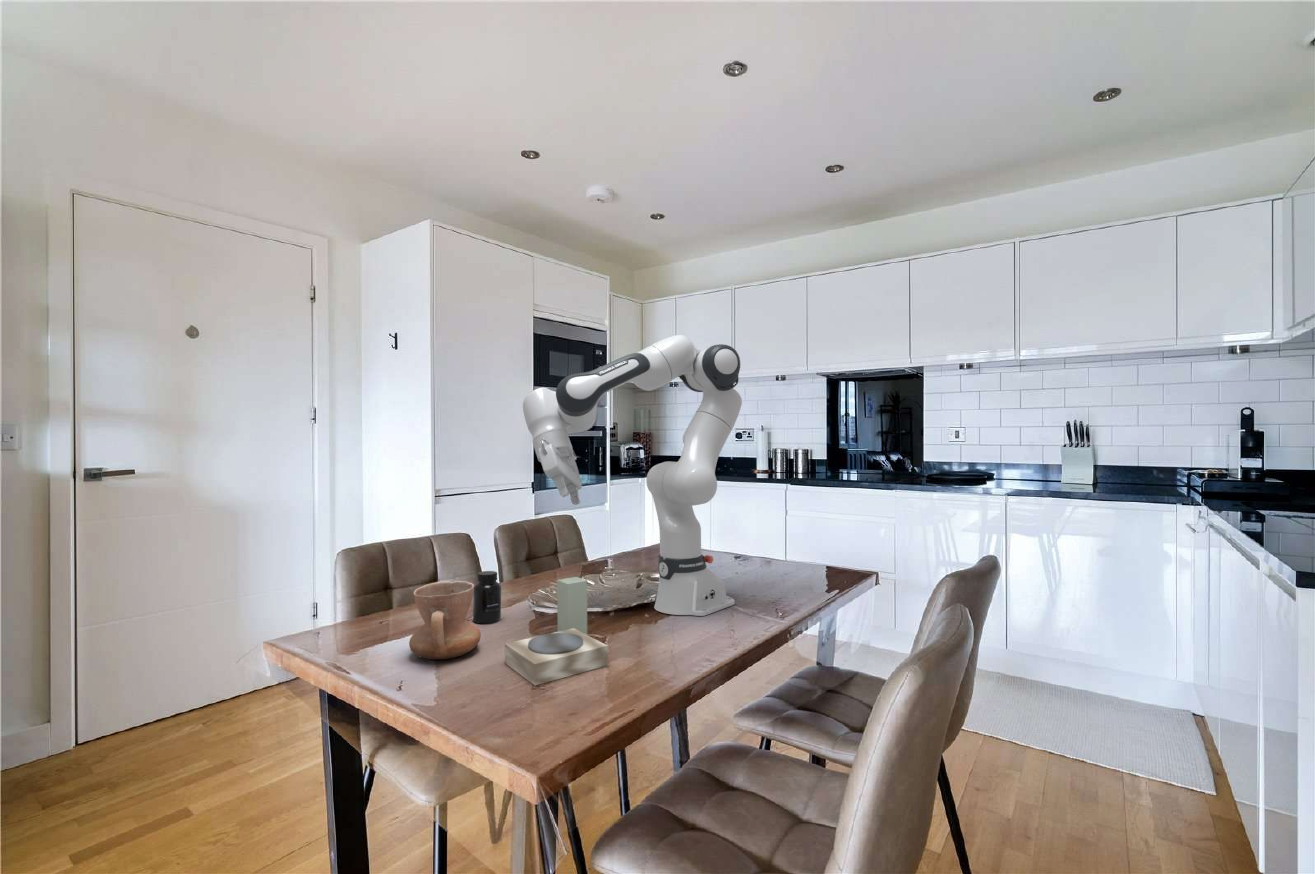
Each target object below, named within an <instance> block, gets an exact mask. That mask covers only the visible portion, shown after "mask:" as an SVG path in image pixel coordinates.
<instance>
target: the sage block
mask: <svg viewBox="0 0 1315 874" xmlns="http://www.w3.org/2000/svg"><path fill="white" fill-rule="evenodd" d="M556 583H557V584H556V585H557V586H556V587H557V588H556V590H557V593H556V595H557V597H556V598H557V599H556V601H557V603H556V604H557V605H556V606H557V607H556V608H557V609H556V610H557V632H559V631H563V630H567V629H572V628H574V629H576V630H578V631H580V632H582V633H584V634H586V635H588V580H587V579H584V578H580V577H579V576H572V577H567V578H560V579H557V581H556Z"/></svg>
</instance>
